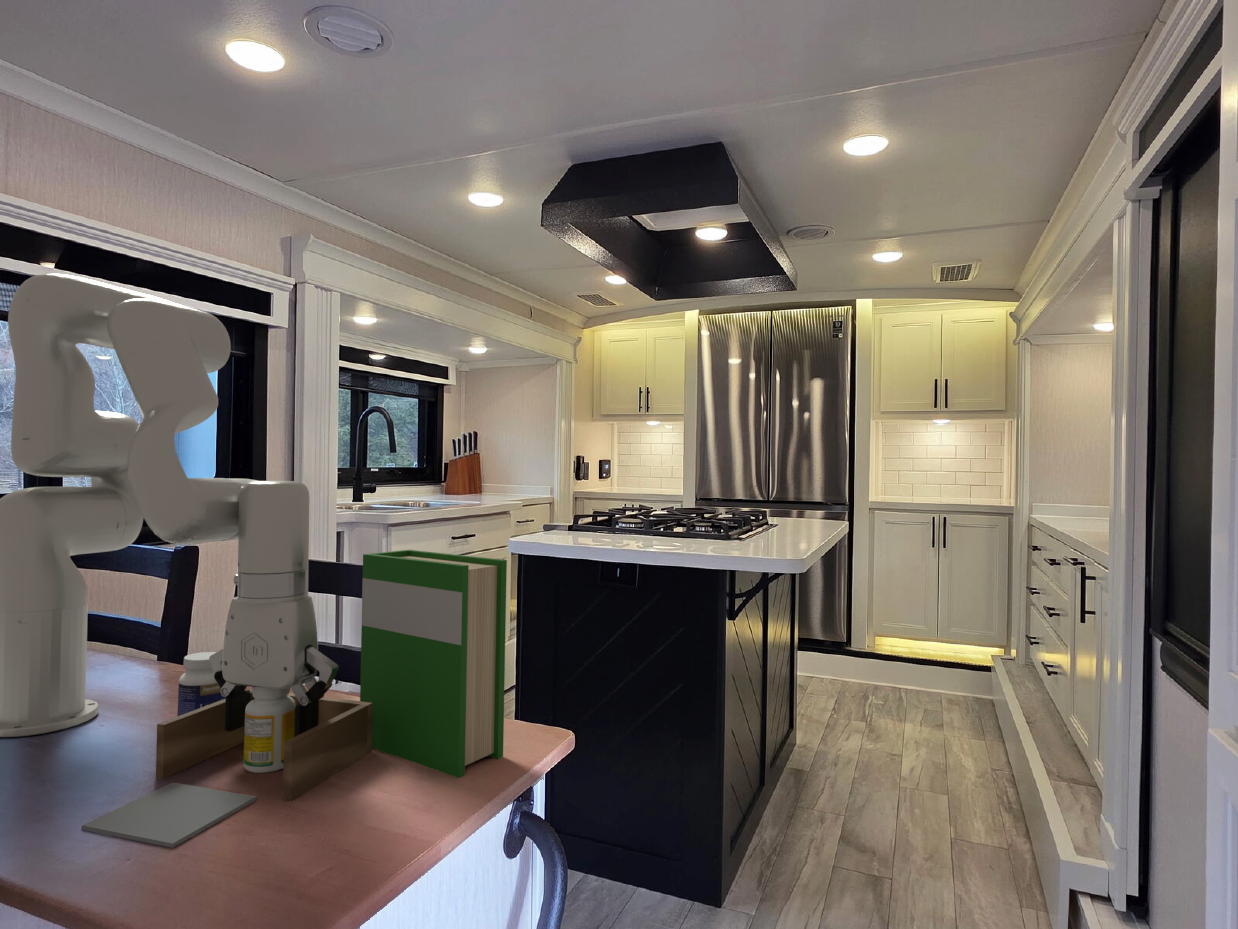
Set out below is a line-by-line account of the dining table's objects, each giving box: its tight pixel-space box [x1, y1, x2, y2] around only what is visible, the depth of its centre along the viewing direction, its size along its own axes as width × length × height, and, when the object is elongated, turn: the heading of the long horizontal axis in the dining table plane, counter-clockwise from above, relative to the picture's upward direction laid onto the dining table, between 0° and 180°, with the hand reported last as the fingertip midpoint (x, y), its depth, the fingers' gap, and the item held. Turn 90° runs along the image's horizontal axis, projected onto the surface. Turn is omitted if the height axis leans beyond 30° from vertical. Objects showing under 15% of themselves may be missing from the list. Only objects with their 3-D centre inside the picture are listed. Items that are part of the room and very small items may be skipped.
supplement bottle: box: [242, 687, 296, 774], centre depth 84 cm, size 5×5×10 cm
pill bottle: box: [176, 651, 226, 717], centre depth 95 cm, size 6×6×10 cm
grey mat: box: [80, 782, 257, 849], centre depth 72 cm, size 11×10×1 cm
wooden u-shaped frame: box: [155, 688, 373, 802], centre depth 84 cm, size 18×14×6 cm
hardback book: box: [359, 549, 508, 778], centre depth 90 cm, size 18×7×24 cm, turn 57°
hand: (271, 732), depth 84 cm, fingers open, 9 cm apart
